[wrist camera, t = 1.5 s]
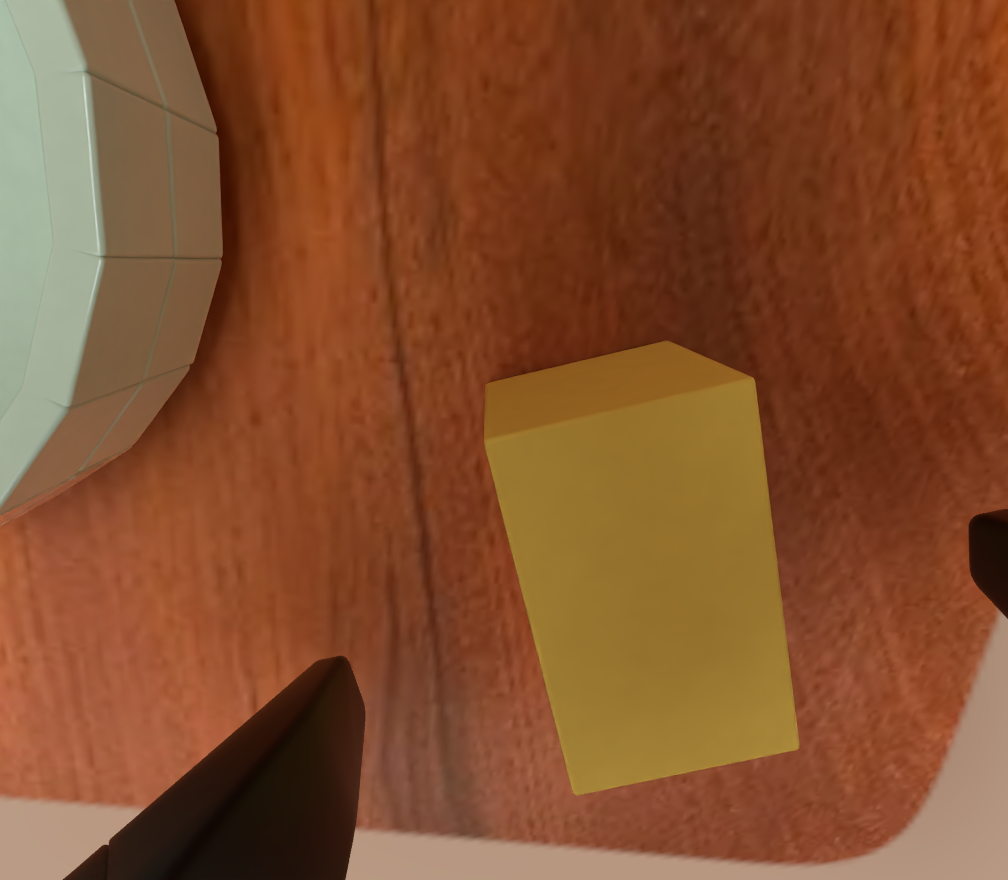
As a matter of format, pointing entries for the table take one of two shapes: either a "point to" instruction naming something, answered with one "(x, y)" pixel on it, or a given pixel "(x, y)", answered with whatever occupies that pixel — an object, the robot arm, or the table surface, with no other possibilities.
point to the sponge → (645, 561)
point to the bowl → (97, 233)
